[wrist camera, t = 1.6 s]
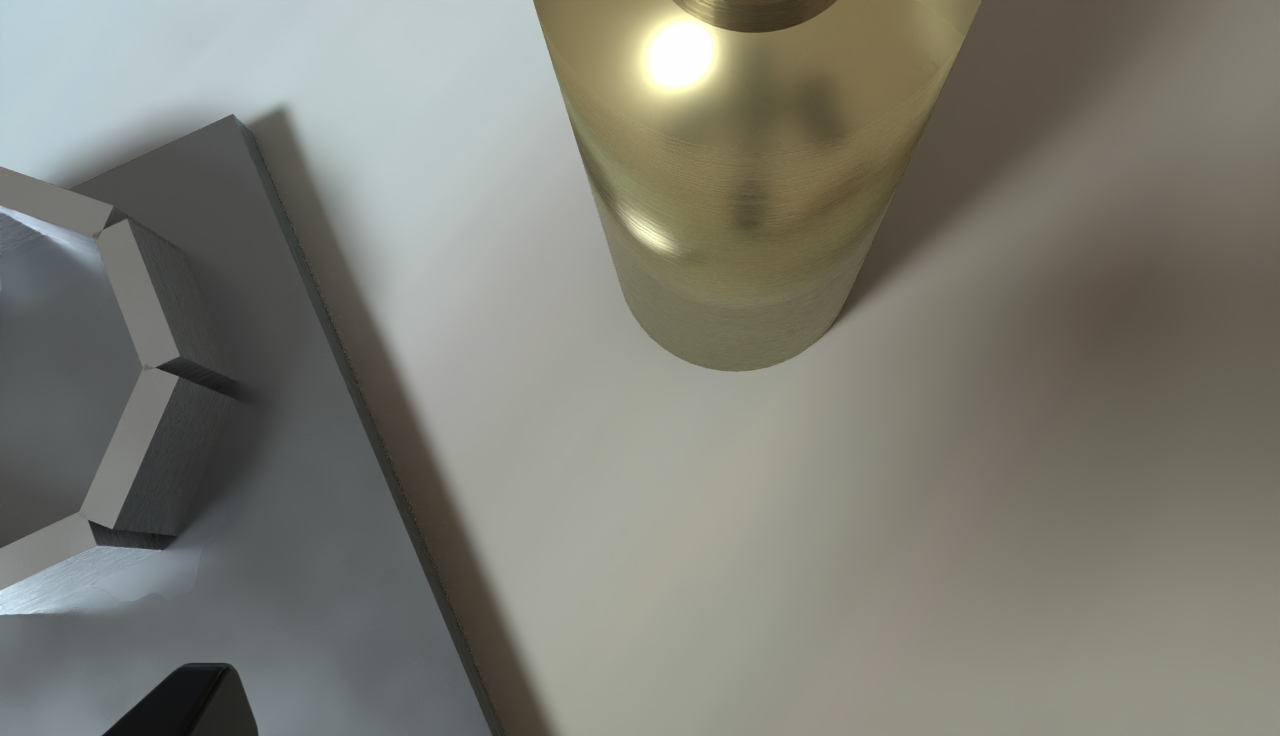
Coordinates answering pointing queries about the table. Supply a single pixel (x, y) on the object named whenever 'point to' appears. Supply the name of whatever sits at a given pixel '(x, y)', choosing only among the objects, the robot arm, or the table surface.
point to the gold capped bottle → (746, 152)
